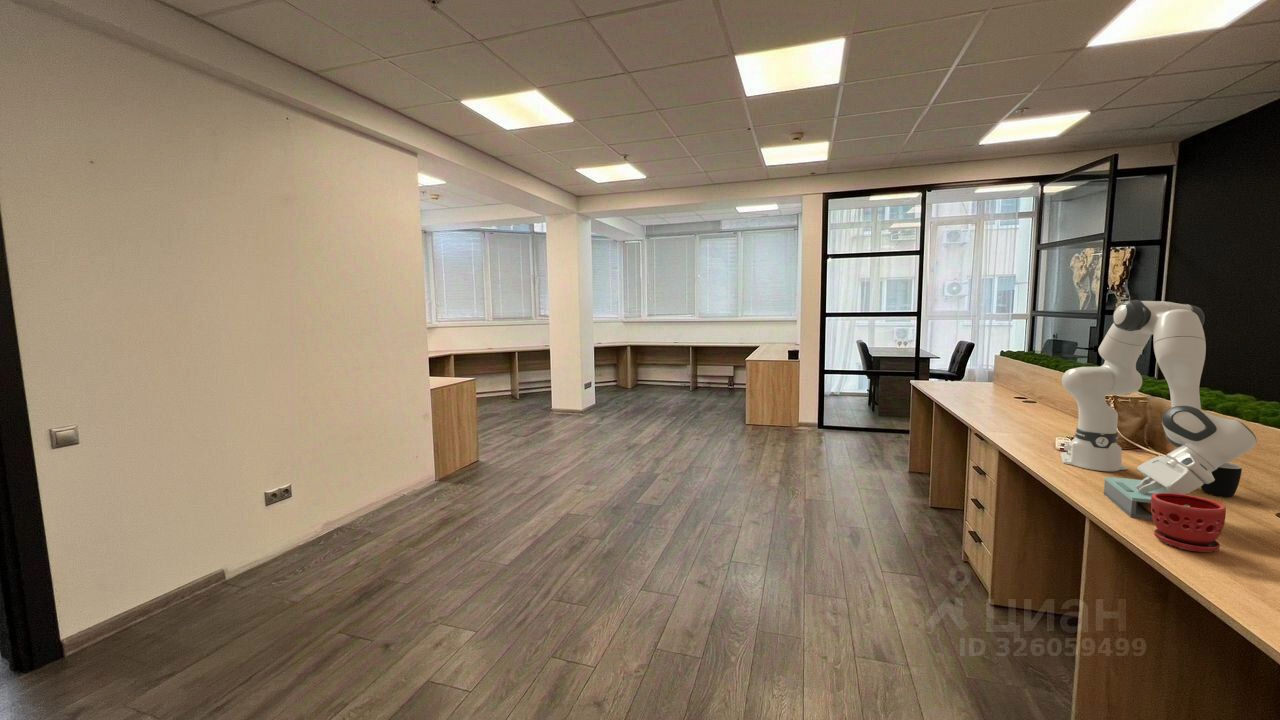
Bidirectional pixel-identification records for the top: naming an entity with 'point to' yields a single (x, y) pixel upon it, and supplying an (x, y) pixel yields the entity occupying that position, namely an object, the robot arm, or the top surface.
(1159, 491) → the lid
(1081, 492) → the top surface
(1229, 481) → the mug
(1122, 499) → the grey rectangular box
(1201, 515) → the plant pot
